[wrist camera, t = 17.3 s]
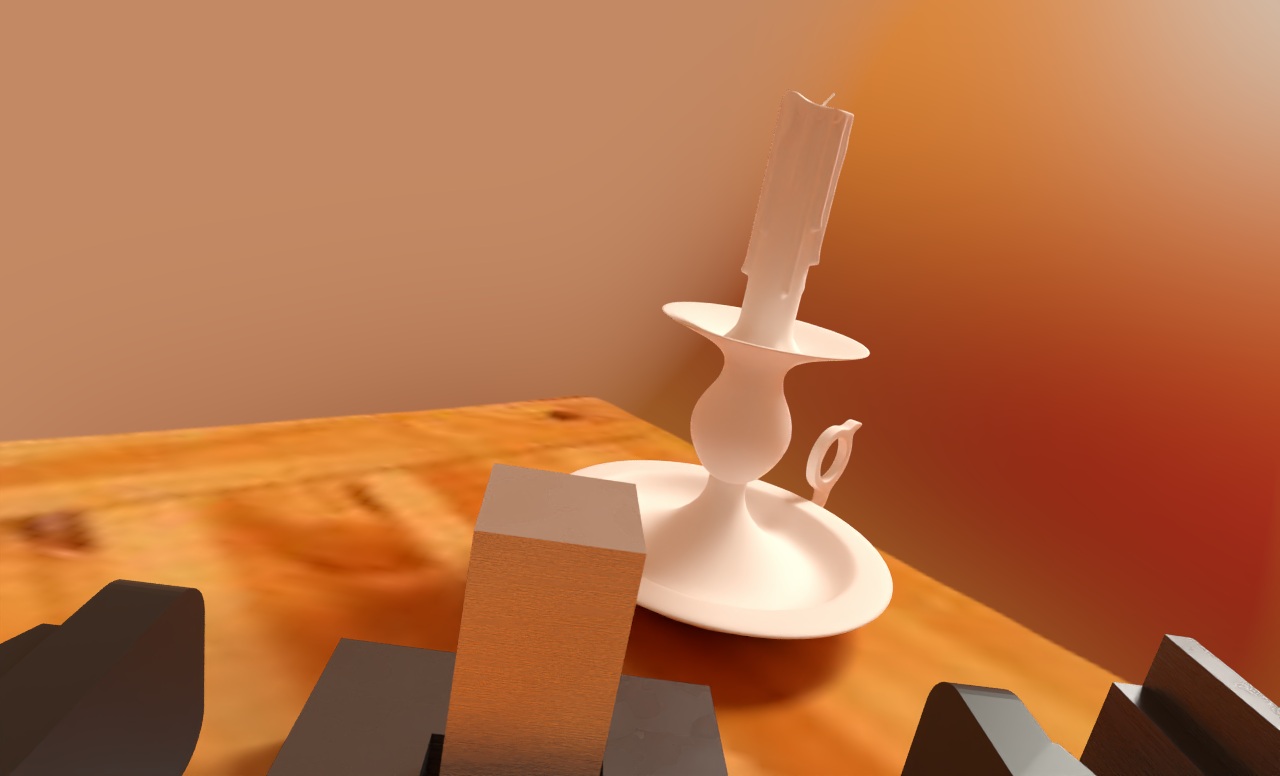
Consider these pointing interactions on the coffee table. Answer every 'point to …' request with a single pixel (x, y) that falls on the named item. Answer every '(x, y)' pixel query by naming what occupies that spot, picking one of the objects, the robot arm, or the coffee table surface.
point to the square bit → (543, 625)
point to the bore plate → (418, 709)
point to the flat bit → (1185, 721)
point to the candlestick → (761, 434)
